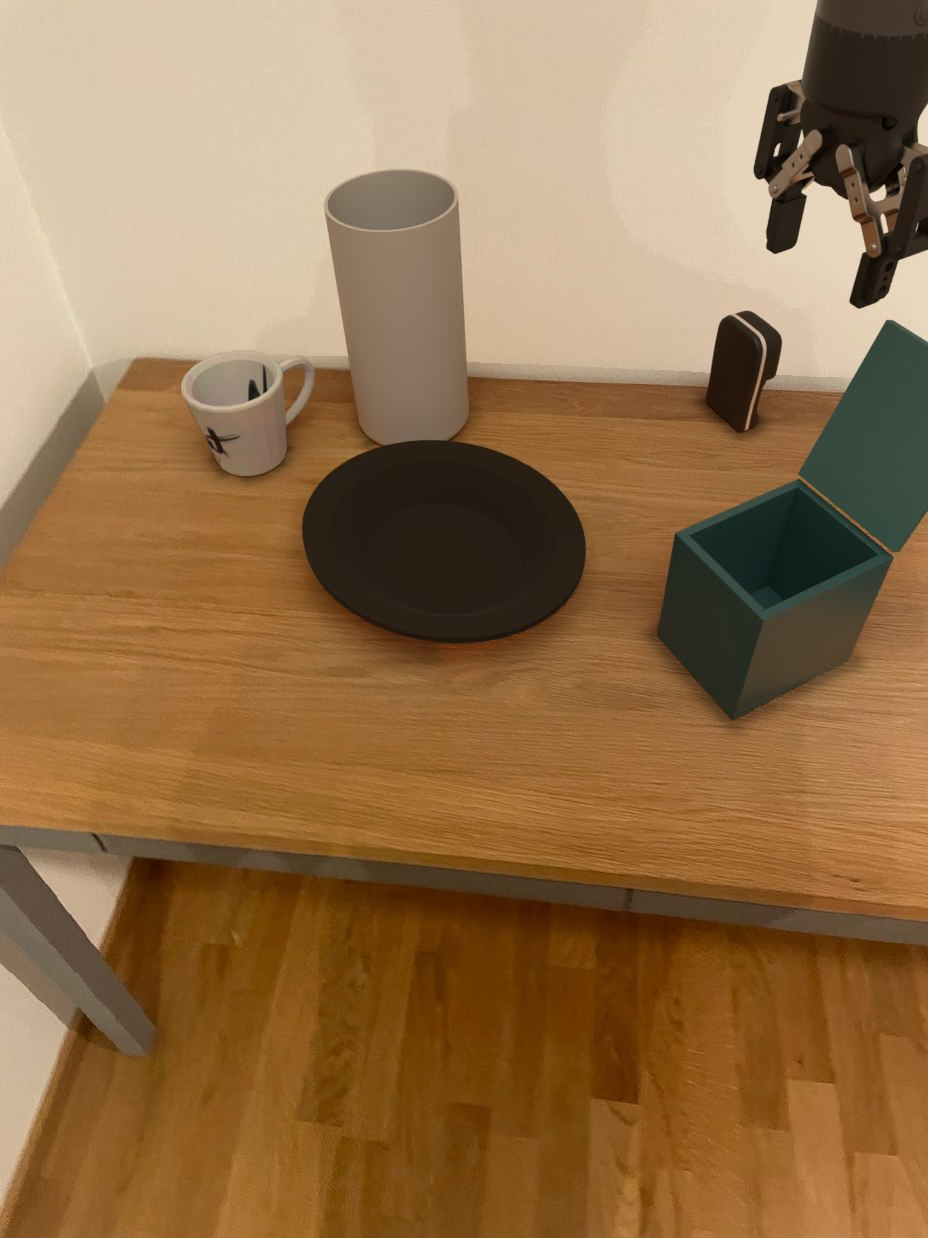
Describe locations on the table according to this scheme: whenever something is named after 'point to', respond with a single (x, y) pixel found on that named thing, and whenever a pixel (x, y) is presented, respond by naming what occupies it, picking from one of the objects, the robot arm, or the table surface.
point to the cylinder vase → (401, 302)
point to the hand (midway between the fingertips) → (820, 275)
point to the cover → (879, 440)
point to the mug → (244, 407)
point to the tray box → (769, 595)
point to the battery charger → (742, 367)
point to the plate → (444, 541)
